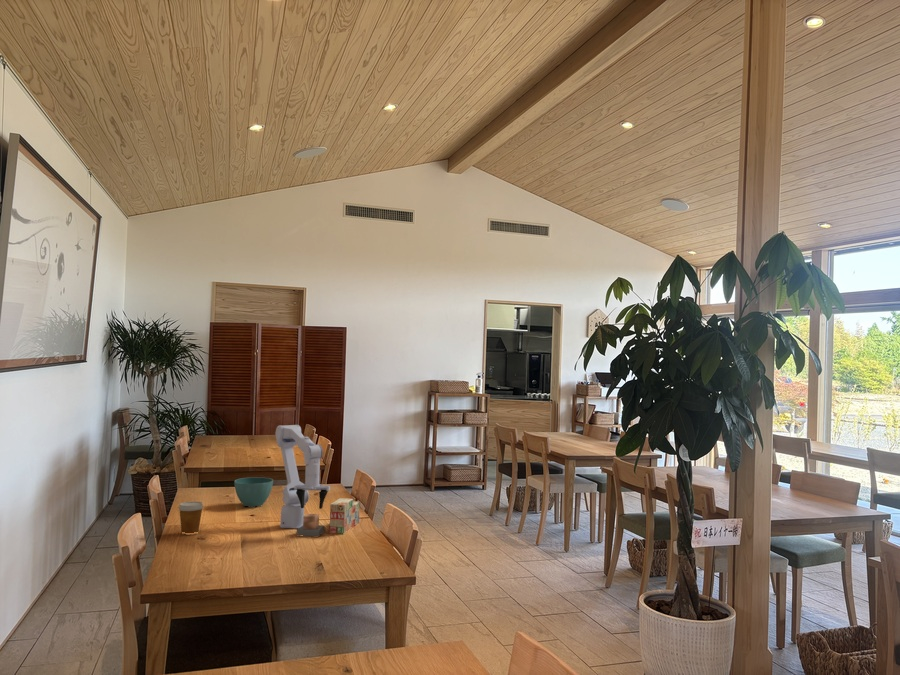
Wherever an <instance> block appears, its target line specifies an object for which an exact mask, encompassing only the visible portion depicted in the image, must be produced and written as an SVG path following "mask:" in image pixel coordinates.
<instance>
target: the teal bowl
mask: <svg viewBox="0 0 900 675" xmlns="http://www.w3.org/2000/svg"><path fill="white" fill-rule="evenodd" d="M233 483H234V489H235V493H236V495H237V498H238V500H239V501H240V503H241V504H242V506H243V507H245V506H248V507H247V508H256V507H255V506H259V507H262V506H261V505H264V504H265V502H267V499H268V498H269V497H270V494H271V492H272V488H273V485H274V479H273V478H270V477H257V476H255V477H242V478H238V479H235V480H234V482H233Z"/></svg>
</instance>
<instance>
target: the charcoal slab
mask: <svg viewBox="0 0 900 675" xmlns="http://www.w3.org/2000/svg"><path fill="white" fill-rule="evenodd" d="M325 528H326V527H325V525H323V524H322V525H321V524H319V526H318V527H317V528H316V529H303V526H301V527H300V528H296V536H297V535H303V536H302V537H309V536H319V535H320V534H321V535H322V534H324V531H325ZM321 535H320V536H321ZM320 536H319V537H320Z"/></svg>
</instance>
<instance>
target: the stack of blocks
mask: <svg viewBox="0 0 900 675" xmlns="http://www.w3.org/2000/svg"><path fill="white" fill-rule="evenodd" d="M329 506H330V509H329V534H333V533H345V532H346V531H347V532H349V531H350V530H351V529H352V528H354V527H355V526H356V525H358V524H359V523H360V501H355V500H354V498H342V497H340V498H338V499H336V500H335V501H334V502H332V503H330V504H329ZM358 522H359V523H358ZM357 523H358V524H357ZM354 525H355V526H354ZM353 526H354V527H353ZM351 527H352V528H351ZM349 529H350V530H349ZM348 530H349V531H348ZM347 532H346V533H347ZM346 533H345V534H346Z"/></svg>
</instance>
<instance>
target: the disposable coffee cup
mask: <svg viewBox="0 0 900 675" xmlns="http://www.w3.org/2000/svg"><path fill="white" fill-rule="evenodd" d="M203 508H204V505H203V502H202V501H185V502H181V503H179V505H178V510H179V519H180V520H179V521H180V529H181V533H182V532H185V533H194V532H198V533H199V530H200V525H201V518H202V513H203V512H202V511H203Z"/></svg>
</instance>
